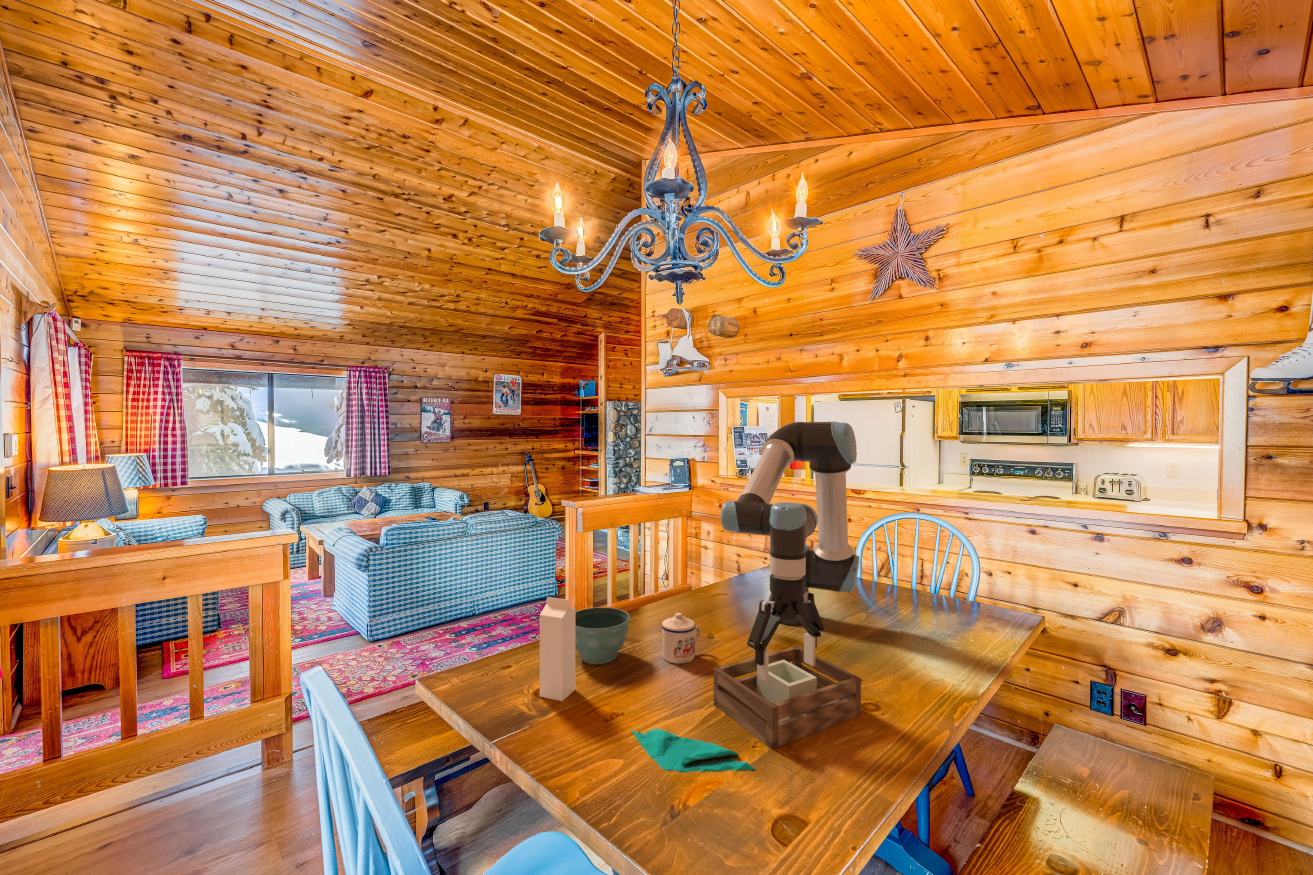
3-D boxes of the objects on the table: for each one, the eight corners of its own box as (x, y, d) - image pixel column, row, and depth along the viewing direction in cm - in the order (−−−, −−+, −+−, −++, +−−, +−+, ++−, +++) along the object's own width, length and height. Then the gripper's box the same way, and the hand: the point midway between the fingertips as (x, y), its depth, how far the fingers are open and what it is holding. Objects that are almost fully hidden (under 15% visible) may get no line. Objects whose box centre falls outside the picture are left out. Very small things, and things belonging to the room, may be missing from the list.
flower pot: (556, 656, 144) (556, 616, 144) (603, 639, 155) (603, 602, 155) (593, 677, 132) (593, 633, 132) (641, 657, 144) (642, 617, 144)
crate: (796, 678, 133) (797, 645, 132) (860, 714, 116) (861, 677, 116) (713, 704, 120) (713, 668, 120) (771, 749, 104) (772, 707, 103)
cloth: (611, 745, 106) (611, 733, 106) (655, 716, 116) (655, 706, 116) (724, 806, 89) (724, 792, 89) (764, 765, 100) (764, 753, 100)
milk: (553, 685, 129) (553, 592, 128) (575, 689, 126) (576, 595, 126) (539, 697, 123) (539, 600, 122) (562, 702, 121) (562, 603, 120)
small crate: (783, 689, 124) (783, 659, 124) (816, 709, 116) (816, 677, 116) (756, 698, 120) (757, 667, 120) (788, 719, 112) (789, 686, 112)
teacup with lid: (675, 667, 138) (675, 622, 138) (654, 655, 145) (654, 612, 145) (710, 656, 145) (711, 613, 145) (689, 644, 152) (689, 603, 152)
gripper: (816, 562, 127) (815, 651, 128) (730, 579, 114) (730, 677, 115) (841, 570, 120) (840, 664, 121) (753, 589, 108) (753, 693, 109)
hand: (786, 670), depth 118 cm, fingers open, 13 cm apart
